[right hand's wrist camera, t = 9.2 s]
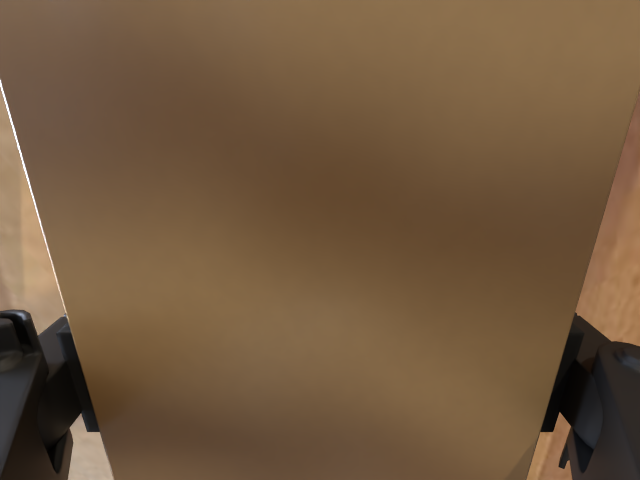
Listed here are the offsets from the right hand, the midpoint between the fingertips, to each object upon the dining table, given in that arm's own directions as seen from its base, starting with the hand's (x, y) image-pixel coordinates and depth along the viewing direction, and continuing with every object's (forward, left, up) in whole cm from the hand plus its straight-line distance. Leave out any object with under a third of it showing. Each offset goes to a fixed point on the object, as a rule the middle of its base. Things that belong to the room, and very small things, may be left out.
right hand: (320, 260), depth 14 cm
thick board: (+10, -32, -1) cm, 34 cm away
